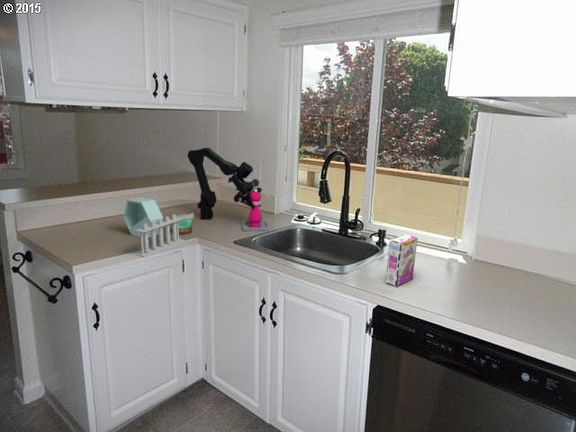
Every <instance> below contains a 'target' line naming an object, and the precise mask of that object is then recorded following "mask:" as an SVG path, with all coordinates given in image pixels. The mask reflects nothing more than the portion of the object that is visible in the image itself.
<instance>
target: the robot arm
mask: <svg viewBox="0 0 576 432" xmlns="http://www.w3.org/2000/svg"><path fill="white" fill-rule="evenodd" d="M205 157H206V158H207V159H208V160H209V161H211V162H212V163H213V164H215V166H217V167H218V168H219V169H220V171H221V172H222V173H223V175H225V176H227V177H228V180H227V182H228V184H229V183H233V185H234V186H235V188H236V189H235V190H236V191H237V193H236V194H235V195H234V196H233V201H234V202H235V203H238V202H239V203H242V204H244V205H247V207H250V208H251V209H252V208H253V209H254V208H255V206H254V204H253V203H252V201H251V199H250V194H251V193H252V192H254V189H257V192H259V193H260V194H261V193H262V191H263V188H261V187H259V186H260V185H259V184H260V181H259V180H258V179H257V178H254V179H252V181H246V180H245V179H247V178H248V177H249V176H250V175H251V173H253V172H254V168H253V166H252V165H251V164H249V163H247V162H246V161H244V162H242V163H240V165H239V166H237V164H235V163H233V162H231V161H228V160H226V159H224V158H223V157H222V156H220V155H219V154H217V153H216V152H215V151H213V150H212V149H211V147H203V148H200V149H191V150H189V151H188V153H187V158H188V161H189V163H190V164H191V165H192V166H193V168H194V171H195V174H196V177H197V181H198V184H199V187H200V196H199V199H200V201H199V202H198V203H197V204H196V205H197V208H198V209H200V218H199V219H200V220H213V218H214V209H213V208H215V205H216V202H217V198H218V197H217V196H216V195H217V194H216V191H215V190H213V191H212V189H211V188H210V185H209V181H208V177H207V174H206V170H205V167H204V161H205ZM229 176H230V177H229ZM260 207H261V203H260V204H259V208H260Z"/></svg>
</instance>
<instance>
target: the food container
mask: <svg viewBox="0 0 576 432" xmlns="http://www.w3.org/2000/svg"><path fill="white" fill-rule="evenodd" d="M172 215H173V214H169V219H172ZM175 215H176V218H183V219H182V220H179V222H178V225H179V236H184V235H190V234H191V233H192V232H193V219H194V217H195V214H194V212H193V211H192V210H191V211H190V213H189V212H188V213H180V214H175ZM171 229H172V230H173V228H171ZM176 229H177V222H176Z"/></svg>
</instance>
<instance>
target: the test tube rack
mask: <svg viewBox="0 0 576 432" xmlns="http://www.w3.org/2000/svg"><path fill="white" fill-rule="evenodd" d="M171 215H172V219H170V216H165V217H164V221H162V219H158V223H156V224H155V221H151V225H150V226H147V223H144V224H143V228H141V229H138V230H135V231H136V232H140V234H141V238H140V245H141V251H140V252H139V253H136V257H140V258H146V257H149V256H152V255H154V254H157V253H159V252H161V251H164V250H166V249H169V248H171V247H174V246H175V245H178V244H181V243H184V242H185V240H184V239H182V238H180V235H179V225H178V222H179V220H182V219H183V218H176V215H177V214H176V213H175V214H171ZM176 222H177V229H176ZM170 225H171V227H172V228H173V229H172V228H171V227H170ZM164 226H165V238H166V241H165V242H164V229H163V228H164ZM156 228H159V235H158V241H159V245H157V236H156V232H155V229H156ZM170 229H172V239H171V230H170ZM150 230H151V237H150V238H151V248H150V247H149V238H148V231H150ZM143 235H144V238H143Z"/></svg>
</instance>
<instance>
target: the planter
mask: <svg viewBox="0 0 576 432" xmlns="http://www.w3.org/2000/svg"><path fill="white" fill-rule="evenodd" d="M123 212H124V213H123V220H124V222H125V224H126V226H127V229H128V231H129V234H130V235H131V236H132V235H133V237H136V236H137V238H140V237H141V234H140V232H136V231H135V230H138V229H141V228H143V224H144V223H147V226H150V225H151V221H155V224H156V223H158V219H162V222H163V220H164V217H163V214H162V212H161V210H160V207H159V206H158V204H157V201H156V200H155V199H152V198H147V197H141V196H139V197H135V198H130V199H126V203H125V208H124V211H123ZM155 232H156V237H157V236H159V228H156V229H155ZM149 238H152V237H151V230H150V231H148V239H149ZM143 239H144V235H143Z"/></svg>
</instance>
